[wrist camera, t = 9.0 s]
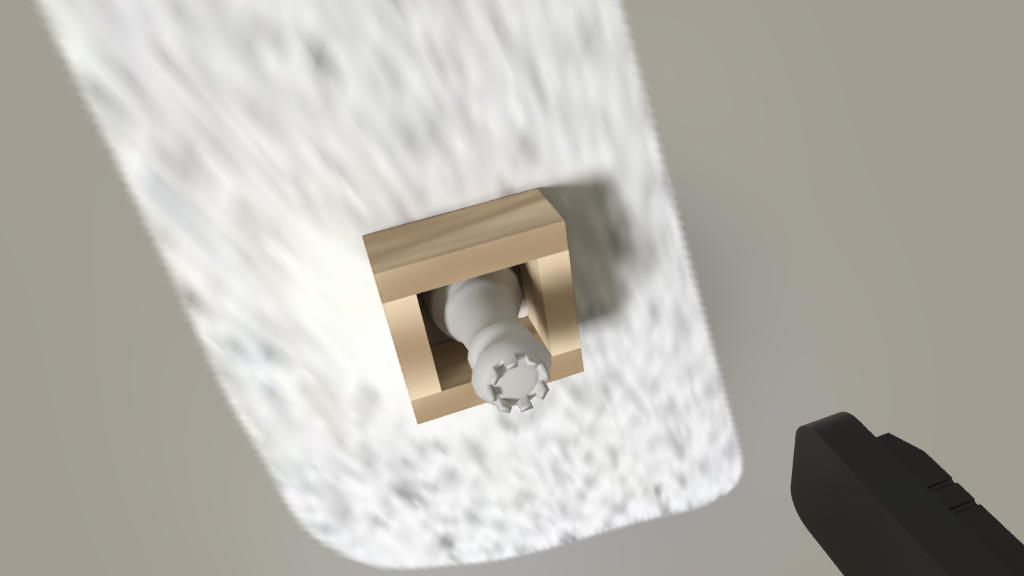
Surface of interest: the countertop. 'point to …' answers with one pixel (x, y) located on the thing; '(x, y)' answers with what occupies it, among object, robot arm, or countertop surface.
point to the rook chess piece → (493, 337)
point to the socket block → (467, 254)
